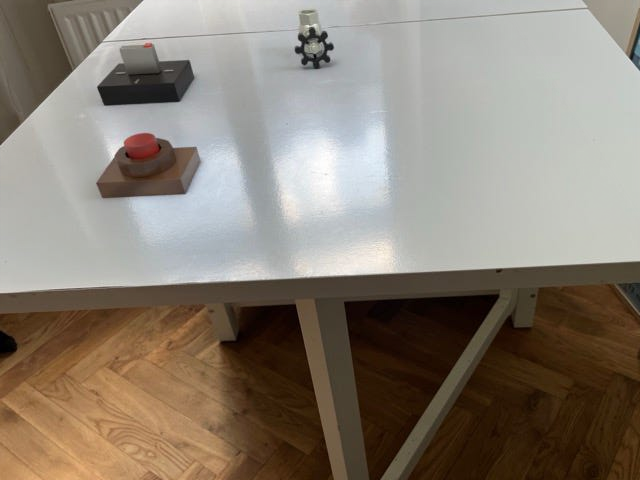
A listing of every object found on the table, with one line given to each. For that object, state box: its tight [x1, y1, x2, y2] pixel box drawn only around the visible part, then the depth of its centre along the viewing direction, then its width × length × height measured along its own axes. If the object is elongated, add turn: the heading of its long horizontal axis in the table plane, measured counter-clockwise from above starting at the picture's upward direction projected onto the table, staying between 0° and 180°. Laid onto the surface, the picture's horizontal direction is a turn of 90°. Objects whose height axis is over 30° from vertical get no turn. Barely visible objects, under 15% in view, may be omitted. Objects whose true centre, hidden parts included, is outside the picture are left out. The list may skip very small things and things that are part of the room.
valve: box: [294, 8, 335, 70], centre depth 97 cm, size 7×7×12 cm
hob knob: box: [118, 42, 161, 75], centre depth 87 cm, size 5×2×4 cm, turn 91°
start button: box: [123, 132, 159, 159], centre depth 66 cm, size 4×4×2 cm
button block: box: [95, 137, 202, 199], centre depth 68 cm, size 10×8×4 cm
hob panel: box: [96, 59, 195, 106], centre depth 90 cm, size 12×10×3 cm
